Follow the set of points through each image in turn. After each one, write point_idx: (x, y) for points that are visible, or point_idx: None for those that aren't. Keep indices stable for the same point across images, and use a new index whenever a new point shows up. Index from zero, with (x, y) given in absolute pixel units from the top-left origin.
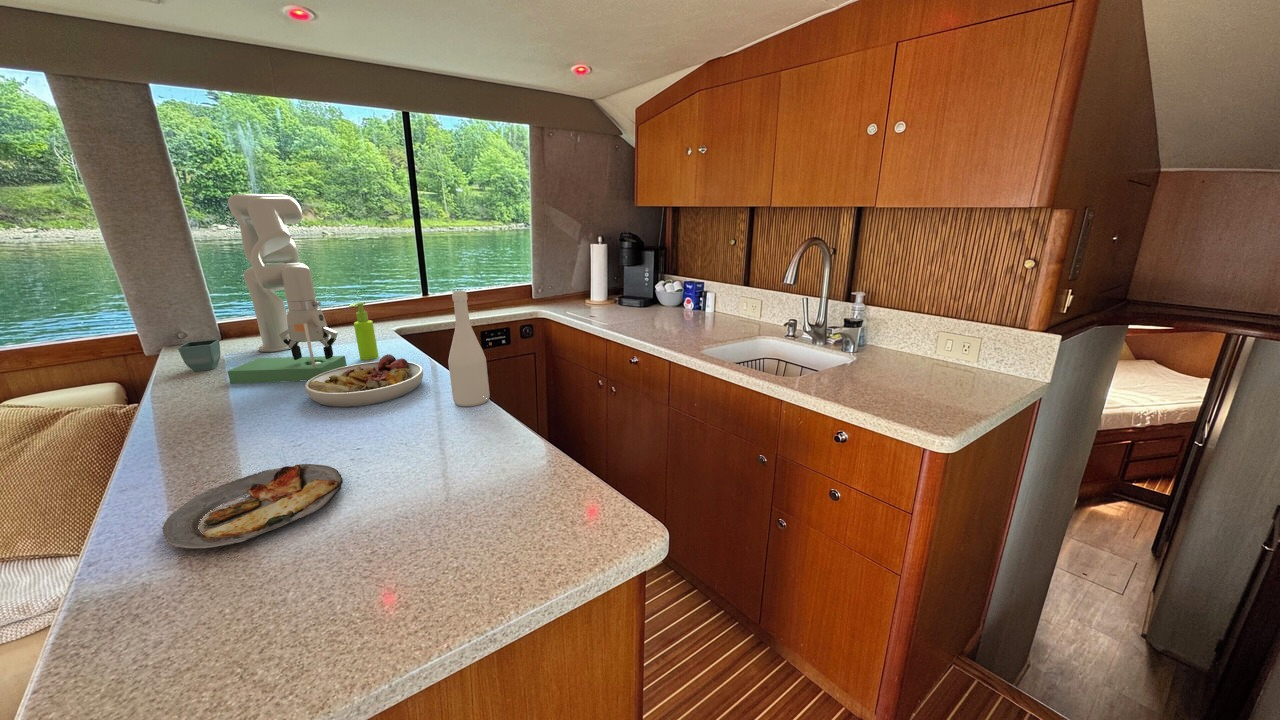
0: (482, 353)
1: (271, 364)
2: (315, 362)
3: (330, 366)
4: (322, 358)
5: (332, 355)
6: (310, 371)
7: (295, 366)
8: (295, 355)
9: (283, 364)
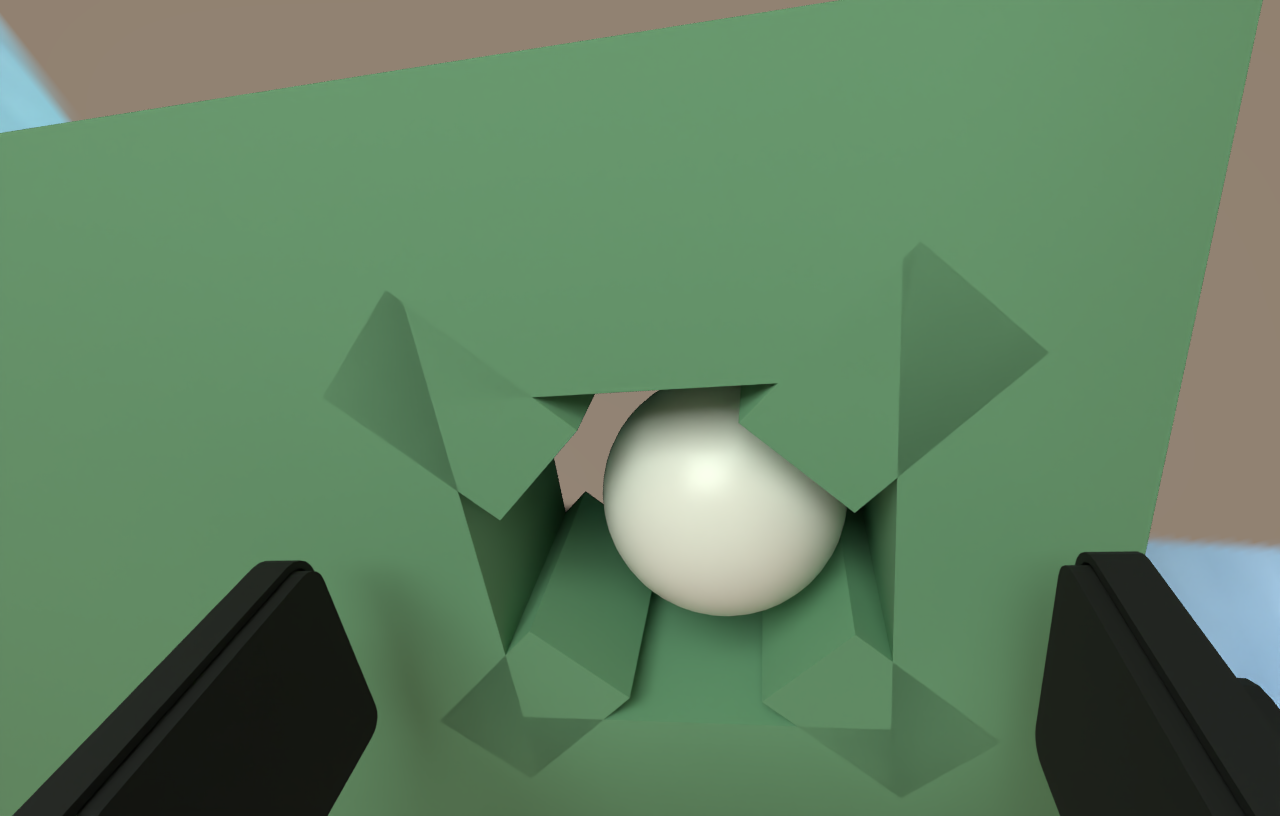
0: None
1: (9, 627)
2: (698, 578)
3: None
4: (646, 285)
5: (1149, 573)
6: None
7: (512, 763)
8: (325, 807)
9: None
